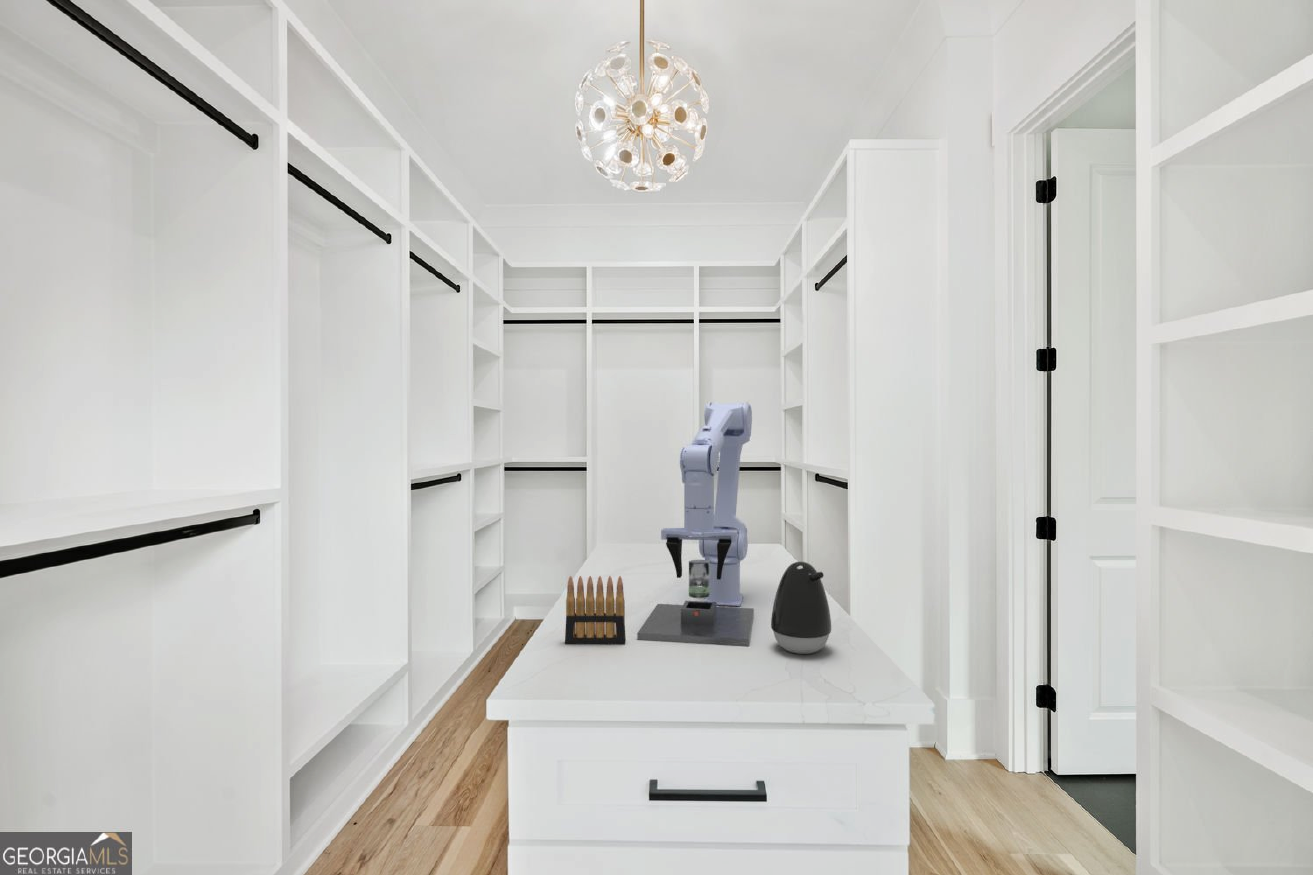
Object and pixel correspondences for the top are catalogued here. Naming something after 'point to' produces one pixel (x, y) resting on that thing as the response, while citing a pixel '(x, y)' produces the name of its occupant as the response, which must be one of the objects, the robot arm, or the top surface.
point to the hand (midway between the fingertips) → (699, 577)
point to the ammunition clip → (595, 614)
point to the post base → (698, 624)
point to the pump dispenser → (801, 610)
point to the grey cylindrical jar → (699, 578)
